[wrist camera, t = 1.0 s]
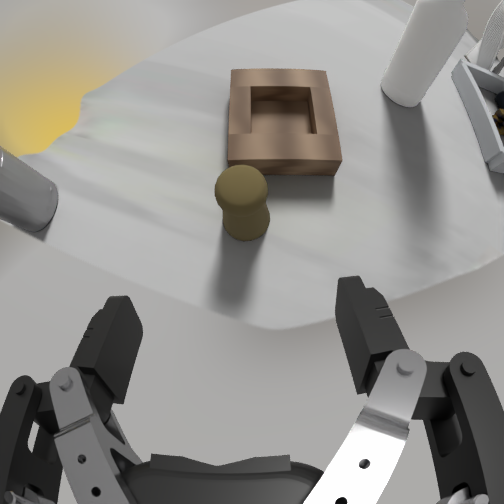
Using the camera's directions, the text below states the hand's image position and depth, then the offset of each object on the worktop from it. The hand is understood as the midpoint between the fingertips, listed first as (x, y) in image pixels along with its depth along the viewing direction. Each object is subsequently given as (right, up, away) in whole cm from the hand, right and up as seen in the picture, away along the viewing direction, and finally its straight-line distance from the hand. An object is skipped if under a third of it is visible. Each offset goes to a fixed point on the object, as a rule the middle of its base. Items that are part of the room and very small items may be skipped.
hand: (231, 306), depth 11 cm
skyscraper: (+56, +47, +32) cm, 80 cm away
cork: (0, +6, +27) cm, 28 cm away
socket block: (+5, +20, +29) cm, 36 cm away
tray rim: (+55, +29, +29) cm, 68 cm away
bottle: (+27, +30, +30) cm, 51 cm away
